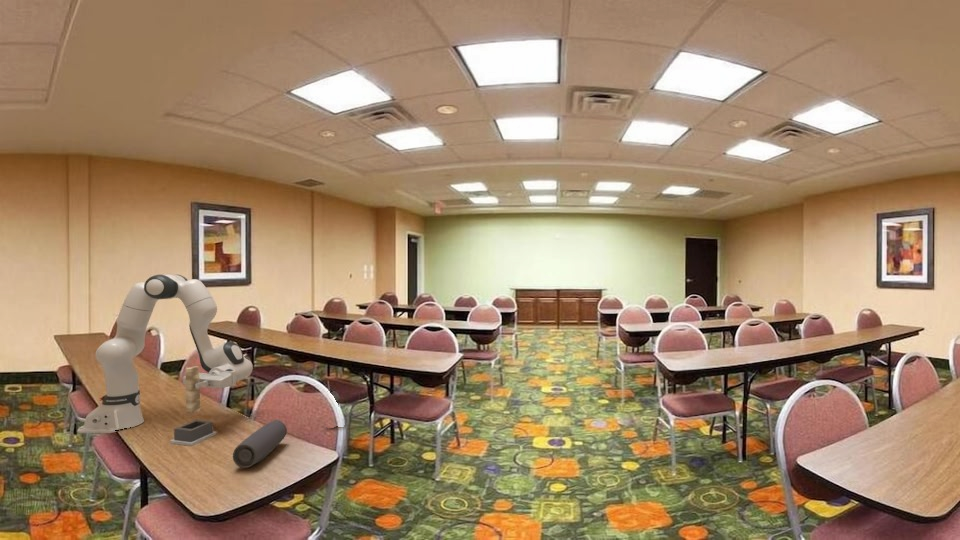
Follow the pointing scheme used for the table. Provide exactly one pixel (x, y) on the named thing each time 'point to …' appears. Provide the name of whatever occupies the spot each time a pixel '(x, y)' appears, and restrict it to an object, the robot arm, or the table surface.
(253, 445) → the bluetooth speaker
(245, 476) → the table surface
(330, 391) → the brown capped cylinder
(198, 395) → the slat
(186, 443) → the grey hollow box
